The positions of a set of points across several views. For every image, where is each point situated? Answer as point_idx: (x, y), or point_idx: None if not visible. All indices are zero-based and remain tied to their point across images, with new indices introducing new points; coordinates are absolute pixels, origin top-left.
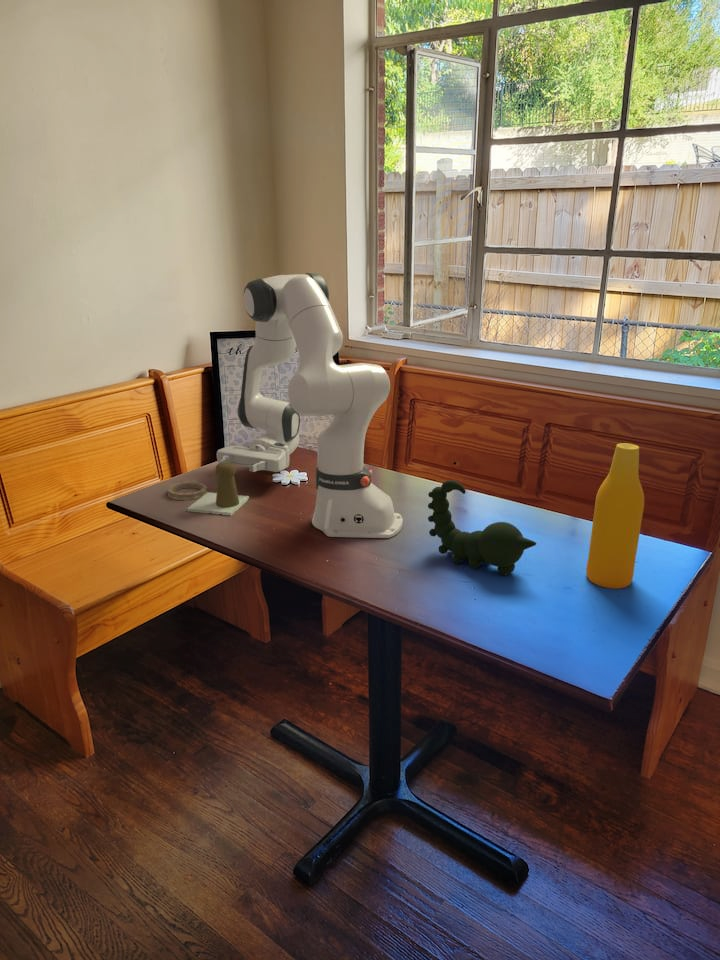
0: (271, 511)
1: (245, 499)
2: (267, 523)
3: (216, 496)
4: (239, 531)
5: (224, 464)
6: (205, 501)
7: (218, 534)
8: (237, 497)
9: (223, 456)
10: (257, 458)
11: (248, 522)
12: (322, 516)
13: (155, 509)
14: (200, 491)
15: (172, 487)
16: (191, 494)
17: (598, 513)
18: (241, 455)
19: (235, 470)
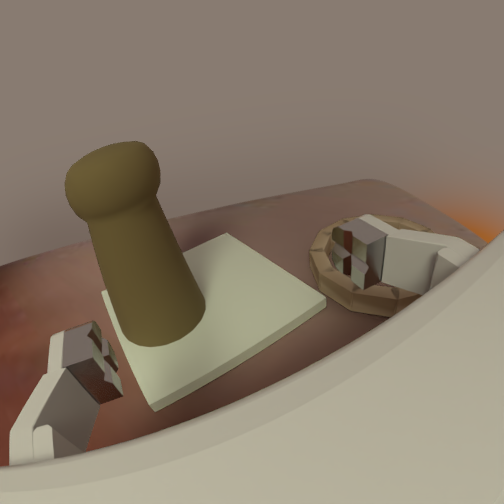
0: (21, 388)
1: (134, 374)
2: (7, 335)
3: (256, 308)
4: (45, 282)
5: (98, 149)
6: (237, 270)
7: (75, 255)
8: (115, 313)
9: (450, 237)
10: (100, 452)
11: (45, 311)
12: None
13: (293, 205)
14: (323, 268)
15: (404, 225)
16: (311, 246)
17: None
18: (370, 331)
19: (70, 202)
